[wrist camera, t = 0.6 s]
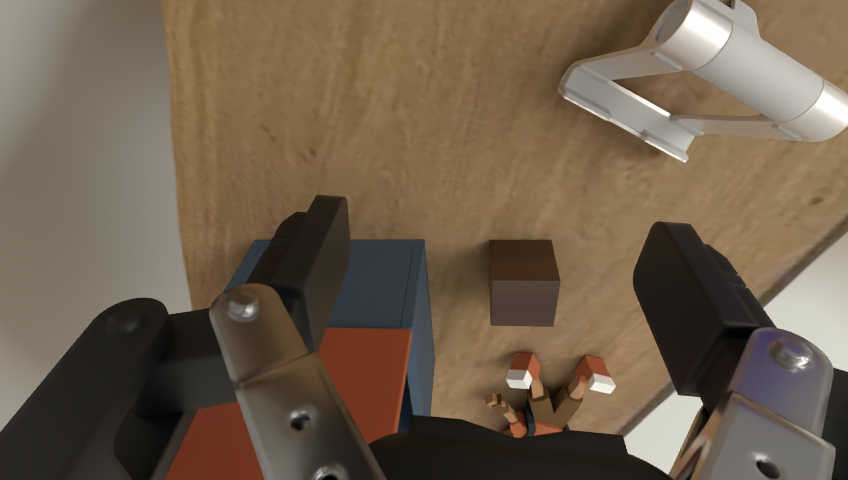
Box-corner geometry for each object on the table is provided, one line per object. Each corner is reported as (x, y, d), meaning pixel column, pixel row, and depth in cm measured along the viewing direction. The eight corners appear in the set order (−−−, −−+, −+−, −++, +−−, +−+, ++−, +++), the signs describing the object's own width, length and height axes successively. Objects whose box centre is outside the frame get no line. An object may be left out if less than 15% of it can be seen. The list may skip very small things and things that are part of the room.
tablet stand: (555, 86, 27) (582, 151, 20) (651, -58, 22) (727, -35, 15) (670, 148, 28) (730, 227, 22) (781, 28, 24) (900, 81, 17)
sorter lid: (359, 674, 15) (356, 666, 14) (-11, 636, 16) (-24, 627, 16) (412, 338, 27) (411, 328, 27) (201, 333, 29) (197, 324, 29)
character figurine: (650, 396, 39) (563, 504, 48) (631, 353, 43) (554, 460, 52) (518, 364, 38) (455, 481, 47) (511, 324, 42) (455, 439, 51)
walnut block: (490, 239, 34) (492, 280, 30) (551, 239, 34) (560, 281, 30) (489, 283, 37) (490, 325, 33) (545, 284, 36) (553, 326, 33)
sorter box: (434, 359, 43) (427, 449, 36) (298, 356, 45) (266, 441, 38) (424, 239, 35) (412, 327, 28) (254, 240, 36) (202, 323, 29)
